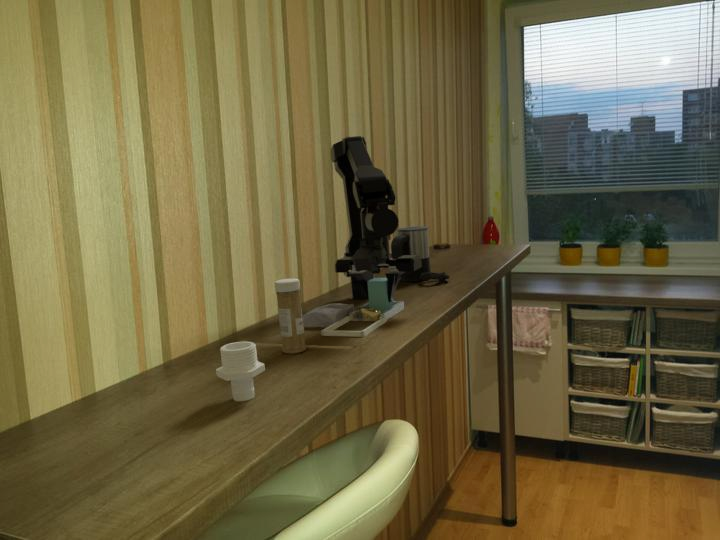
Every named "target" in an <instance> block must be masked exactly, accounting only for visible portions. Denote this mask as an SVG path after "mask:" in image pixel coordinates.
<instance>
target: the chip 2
mask: <svg viewBox="0 0 720 540" xmlns="http://www.w3.org/2000/svg"><path fill="white" fill-rule="evenodd" d="M380 313H381V310H379V309H373V310H368V311H367V320H369V321H368V322H377V321H376V320H380V319H381V315H380Z"/></svg>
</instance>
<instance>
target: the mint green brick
mask: <svg viewBox="0 0 720 540" xmlns="http://www.w3.org/2000/svg"><path fill="white" fill-rule="evenodd" d="M367 282H368V296H369V300H368V302H369V307H374V309H379V310H381V312H384V311H385V310H387V309H389V308H390V307H392V306H393V305H394V301H395V300H394V298H393V300H392V302H389V301H388V285H387V277H373V279H371V280H369V281H367Z"/></svg>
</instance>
